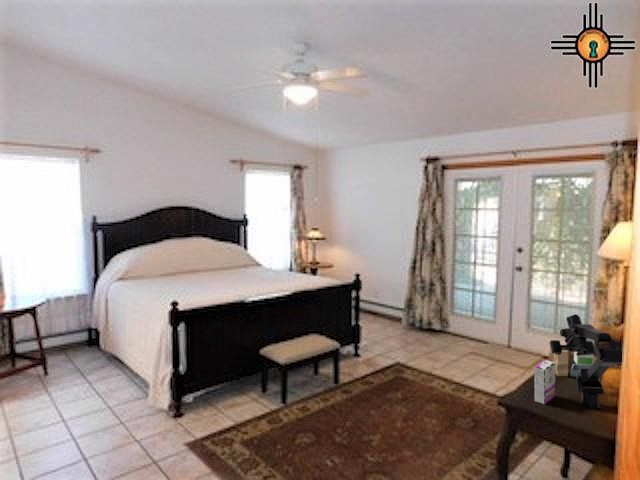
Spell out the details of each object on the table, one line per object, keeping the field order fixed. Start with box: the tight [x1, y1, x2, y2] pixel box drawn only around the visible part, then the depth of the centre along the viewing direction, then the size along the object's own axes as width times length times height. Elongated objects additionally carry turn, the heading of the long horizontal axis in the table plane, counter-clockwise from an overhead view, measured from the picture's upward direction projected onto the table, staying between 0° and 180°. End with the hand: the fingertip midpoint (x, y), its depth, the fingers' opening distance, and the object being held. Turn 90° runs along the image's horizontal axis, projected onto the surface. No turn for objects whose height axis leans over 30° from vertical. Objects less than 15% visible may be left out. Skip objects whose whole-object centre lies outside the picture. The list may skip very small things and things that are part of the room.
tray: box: [569, 363, 591, 378], centre depth 218 cm, size 10×10×3 cm
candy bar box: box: [533, 359, 556, 405], centre depth 193 cm, size 11×5×16 cm, turn 129°
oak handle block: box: [553, 350, 569, 377], centre depth 219 cm, size 5×5×13 cm
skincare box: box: [573, 338, 595, 367], centre depth 232 cm, size 8×7×16 cm
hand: (566, 354), depth 211 cm, fingers open, 9 cm apart
